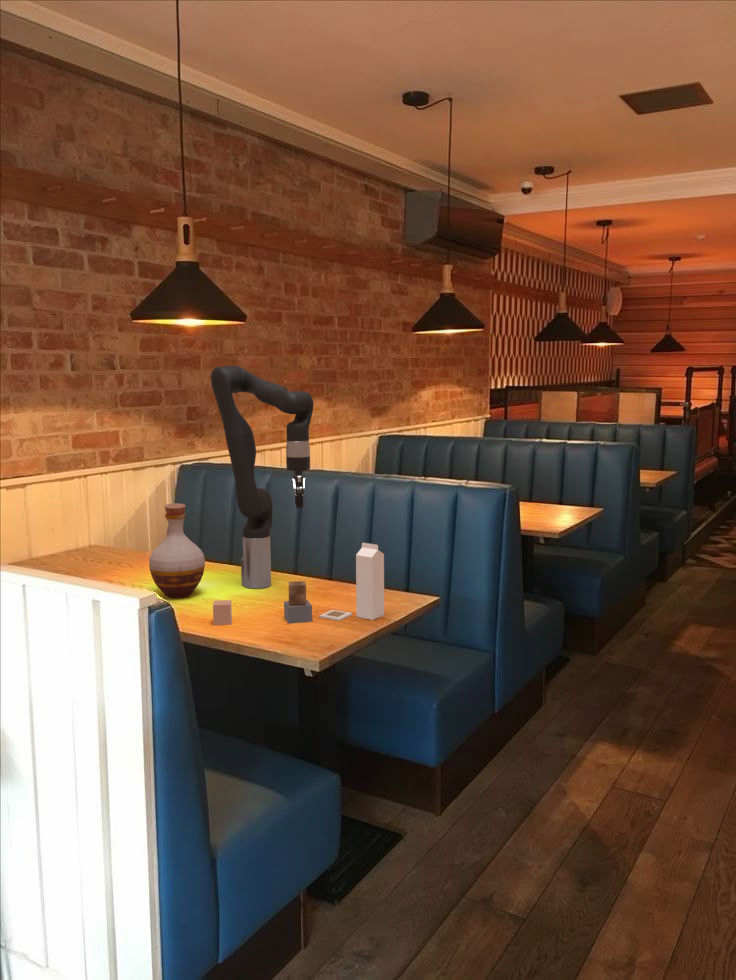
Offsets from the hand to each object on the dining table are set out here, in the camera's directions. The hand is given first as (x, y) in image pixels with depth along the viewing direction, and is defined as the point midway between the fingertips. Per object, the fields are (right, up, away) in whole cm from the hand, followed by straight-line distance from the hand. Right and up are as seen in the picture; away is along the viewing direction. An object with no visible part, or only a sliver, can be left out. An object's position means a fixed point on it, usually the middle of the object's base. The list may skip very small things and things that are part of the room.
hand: (299, 505), depth 265 cm
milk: (+23, -33, -17) cm, 43 cm away
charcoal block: (+1, -33, -19) cm, 39 cm away
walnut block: (+1, -28, -20) cm, 35 cm away
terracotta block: (-20, -34, -22) cm, 45 cm away
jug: (-41, -30, +9) cm, 51 cm away
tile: (+12, -33, -17) cm, 39 cm away
